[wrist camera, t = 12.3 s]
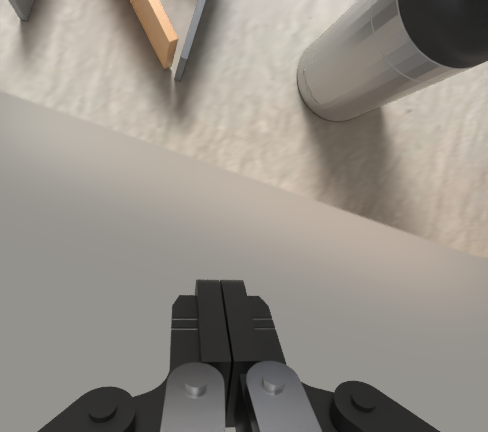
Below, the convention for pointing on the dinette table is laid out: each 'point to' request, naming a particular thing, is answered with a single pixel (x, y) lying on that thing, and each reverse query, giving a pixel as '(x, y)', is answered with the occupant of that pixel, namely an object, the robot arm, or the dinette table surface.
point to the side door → (157, 29)
